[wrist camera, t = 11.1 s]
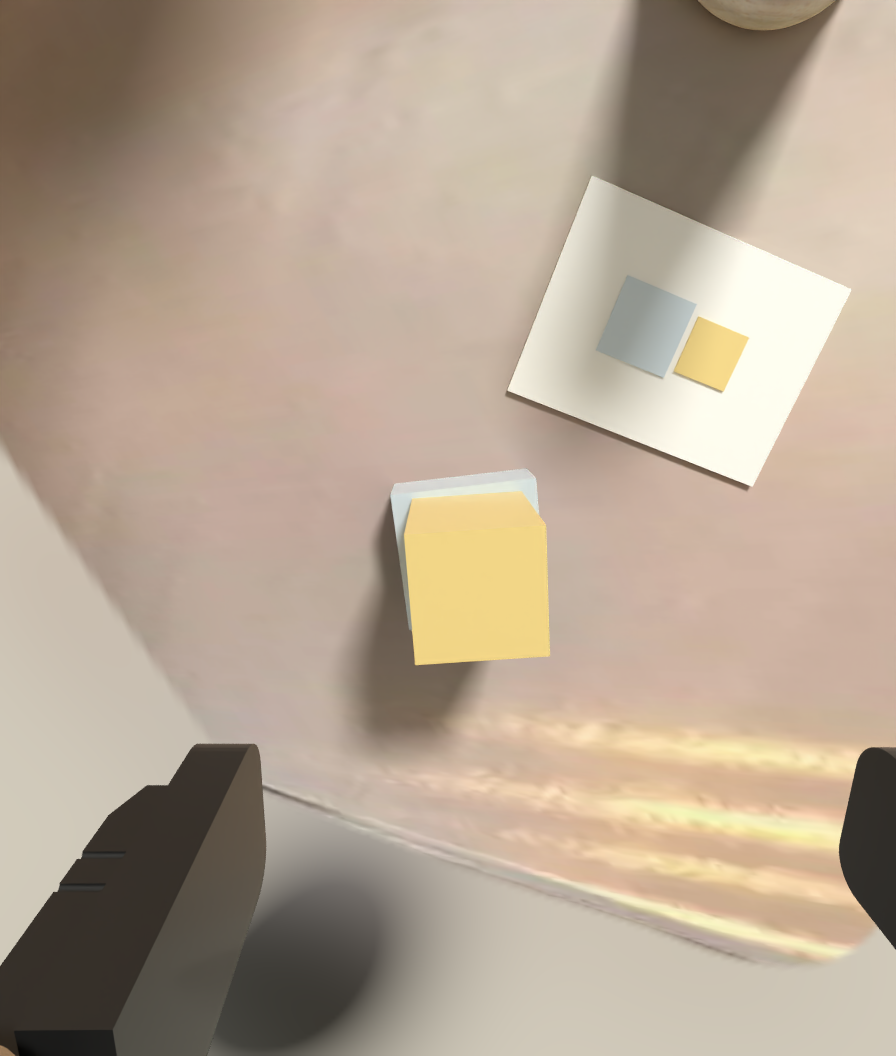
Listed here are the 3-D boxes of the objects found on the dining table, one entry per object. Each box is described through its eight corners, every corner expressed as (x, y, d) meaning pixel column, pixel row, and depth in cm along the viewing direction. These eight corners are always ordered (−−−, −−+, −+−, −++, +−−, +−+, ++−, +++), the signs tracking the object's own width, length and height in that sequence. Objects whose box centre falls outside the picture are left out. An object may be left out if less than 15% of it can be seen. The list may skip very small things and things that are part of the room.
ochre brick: (420, 601, 26) (415, 664, 21) (412, 498, 25) (404, 534, 20) (525, 594, 26) (550, 656, 21) (521, 491, 25) (546, 525, 20)
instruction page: (506, 390, 27) (507, 390, 27) (590, 176, 25) (592, 174, 25) (750, 486, 28) (753, 487, 28) (848, 290, 26) (853, 289, 26)
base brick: (411, 605, 30) (409, 630, 27) (394, 482, 28) (390, 495, 25) (535, 590, 30) (547, 614, 27) (525, 467, 28) (536, 478, 25)
